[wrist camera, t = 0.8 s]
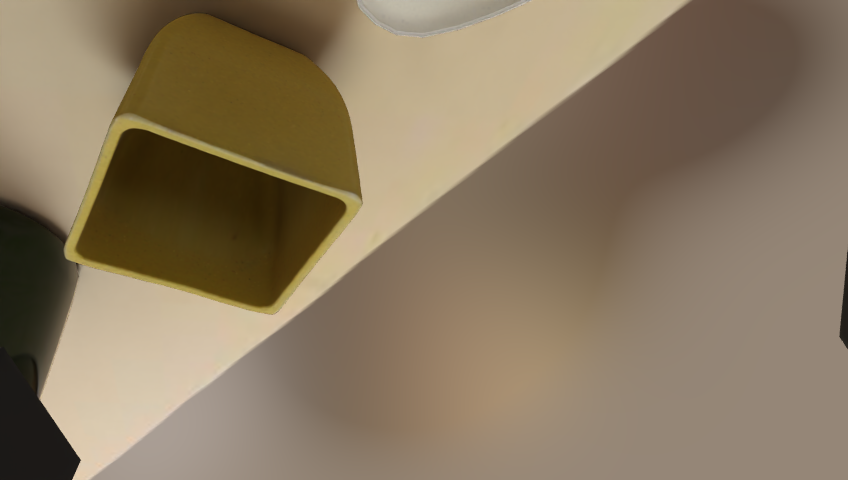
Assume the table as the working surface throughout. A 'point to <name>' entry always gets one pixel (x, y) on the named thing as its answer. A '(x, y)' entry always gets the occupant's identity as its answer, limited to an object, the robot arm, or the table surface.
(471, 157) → the table surface
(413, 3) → the pitcher
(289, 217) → the flower pot
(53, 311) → the dark green wine bottle
